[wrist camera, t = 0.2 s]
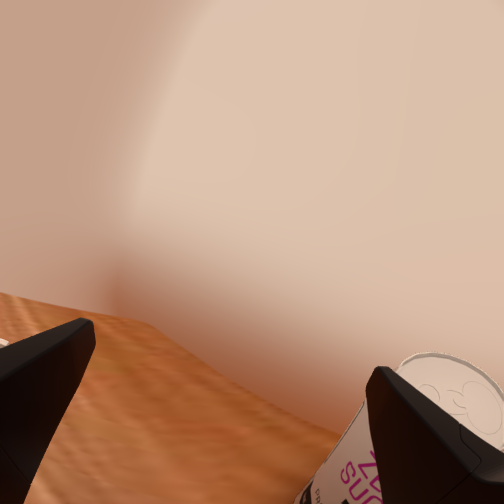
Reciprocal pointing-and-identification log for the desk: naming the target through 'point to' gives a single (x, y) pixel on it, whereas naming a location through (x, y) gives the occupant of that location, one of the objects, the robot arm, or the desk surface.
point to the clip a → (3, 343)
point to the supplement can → (436, 389)
